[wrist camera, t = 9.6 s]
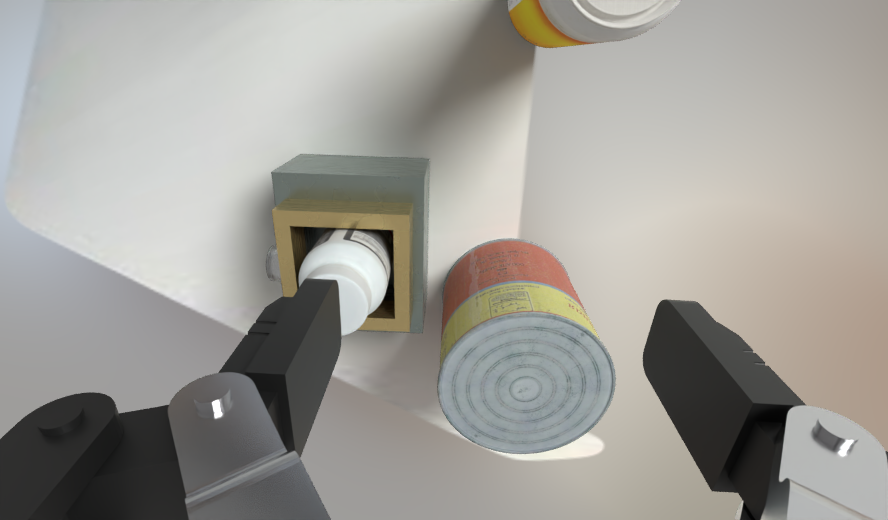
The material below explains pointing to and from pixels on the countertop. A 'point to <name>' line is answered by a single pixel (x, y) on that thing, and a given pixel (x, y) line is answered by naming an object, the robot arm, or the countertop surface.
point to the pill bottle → (353, 269)
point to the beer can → (585, 20)
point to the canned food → (519, 351)
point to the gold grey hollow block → (356, 224)
